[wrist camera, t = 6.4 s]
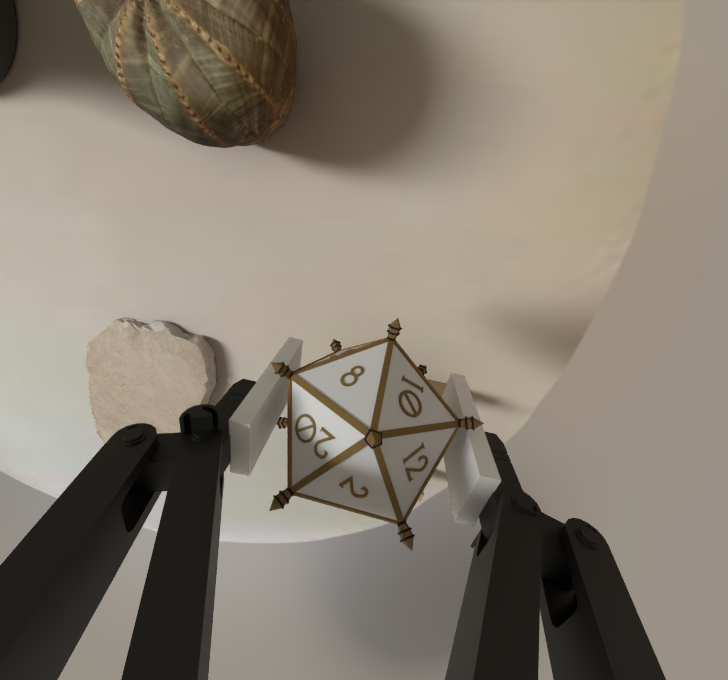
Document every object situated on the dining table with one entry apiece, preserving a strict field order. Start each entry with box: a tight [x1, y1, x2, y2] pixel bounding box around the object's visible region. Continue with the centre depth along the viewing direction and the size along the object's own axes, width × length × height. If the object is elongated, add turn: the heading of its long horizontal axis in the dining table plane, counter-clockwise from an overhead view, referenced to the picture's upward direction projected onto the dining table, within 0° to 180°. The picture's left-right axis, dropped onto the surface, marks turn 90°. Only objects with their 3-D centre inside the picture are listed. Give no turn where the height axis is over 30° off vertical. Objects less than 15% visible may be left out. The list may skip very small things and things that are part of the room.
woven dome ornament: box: [74, 0, 297, 148], centre depth 18 cm, size 11×11×12 cm
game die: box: [270, 318, 484, 550], centre depth 14 cm, size 9×8×10 cm
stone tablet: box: [85, 317, 217, 443], centre depth 40 cm, size 16×30×2 cm, turn 161°
